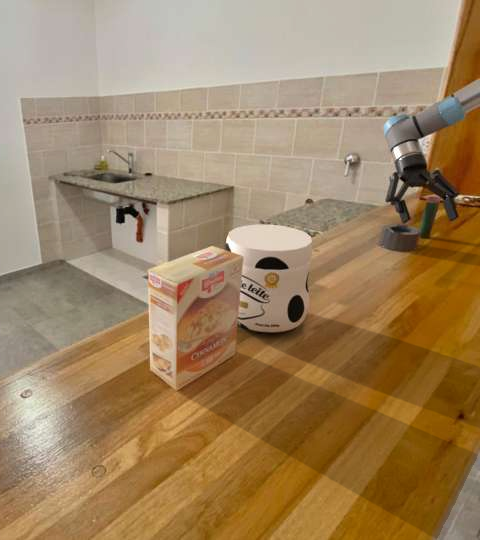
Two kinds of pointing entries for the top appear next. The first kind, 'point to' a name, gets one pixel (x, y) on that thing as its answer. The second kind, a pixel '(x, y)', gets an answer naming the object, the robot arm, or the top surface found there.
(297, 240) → the milk container
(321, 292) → the top surface
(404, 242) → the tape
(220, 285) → the coffeecake box
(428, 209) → the green marker pen
